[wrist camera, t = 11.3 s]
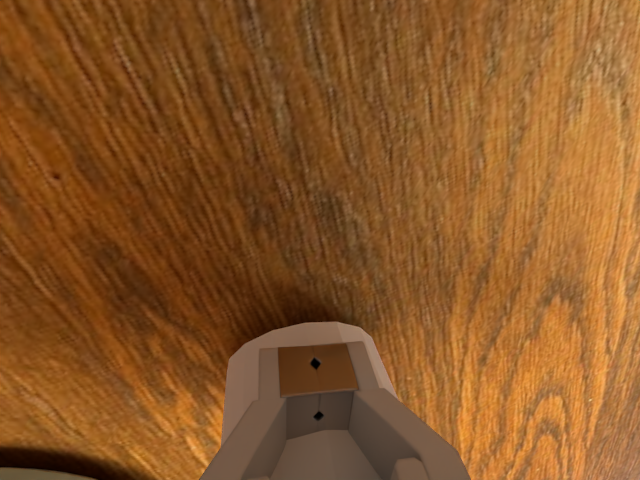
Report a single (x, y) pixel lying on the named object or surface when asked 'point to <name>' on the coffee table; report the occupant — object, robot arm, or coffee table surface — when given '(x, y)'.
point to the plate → (37, 474)
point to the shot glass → (316, 448)
